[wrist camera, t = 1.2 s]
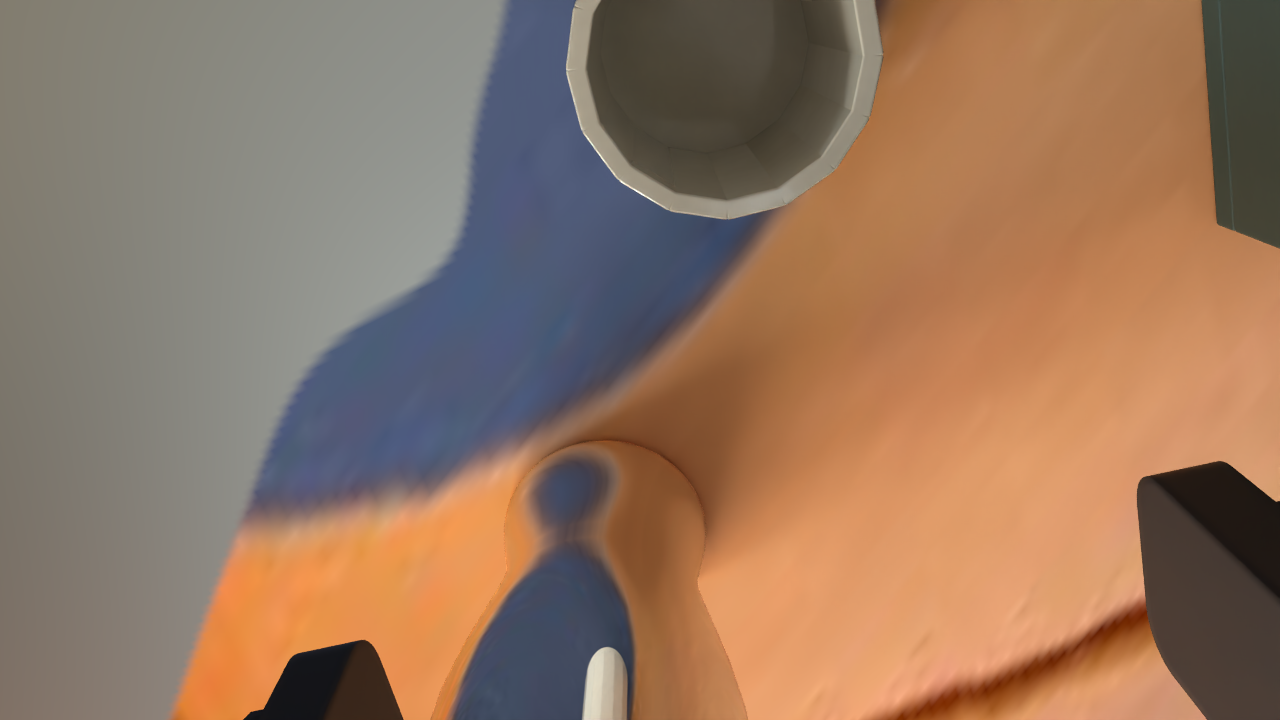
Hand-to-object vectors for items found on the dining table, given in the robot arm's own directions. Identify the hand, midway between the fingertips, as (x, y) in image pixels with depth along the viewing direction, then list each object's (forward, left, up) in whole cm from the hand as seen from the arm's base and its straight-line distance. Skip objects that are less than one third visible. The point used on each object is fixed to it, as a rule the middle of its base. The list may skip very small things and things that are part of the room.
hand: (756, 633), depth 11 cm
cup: (-5, +2, -19) cm, 20 cm away
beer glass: (+8, -4, -19) cm, 21 cm away
